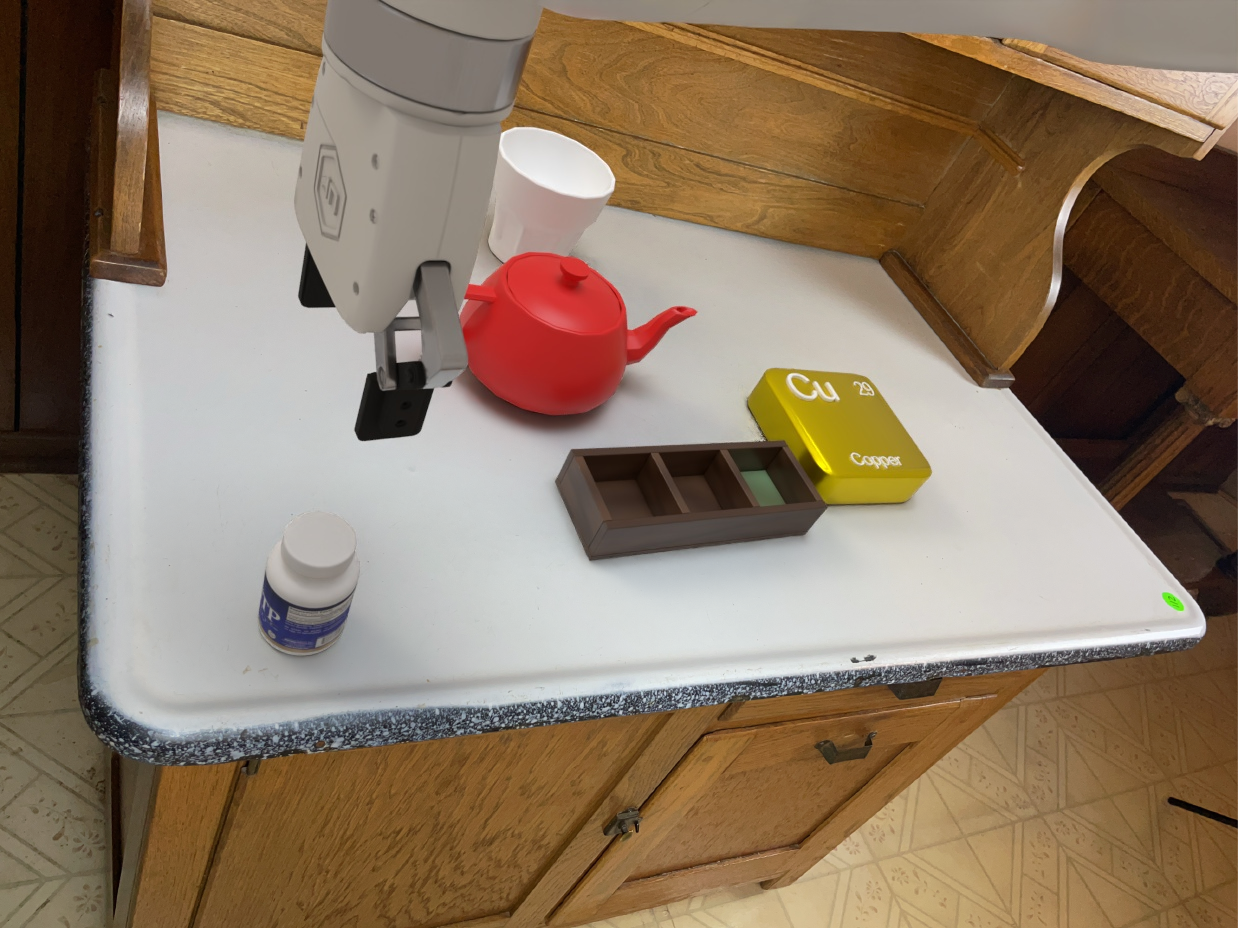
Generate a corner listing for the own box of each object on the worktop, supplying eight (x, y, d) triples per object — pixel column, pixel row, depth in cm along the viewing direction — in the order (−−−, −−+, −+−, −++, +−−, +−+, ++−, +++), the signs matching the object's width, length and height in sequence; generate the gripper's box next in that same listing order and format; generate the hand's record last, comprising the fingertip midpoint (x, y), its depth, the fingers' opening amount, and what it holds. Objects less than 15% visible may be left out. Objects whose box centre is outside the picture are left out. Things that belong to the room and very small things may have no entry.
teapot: (417, 424, 69) (452, 307, 61) (396, 302, 79) (424, 187, 71) (682, 442, 81) (741, 345, 73) (636, 333, 90) (684, 236, 82)
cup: (469, 205, 95) (496, 112, 87) (575, 235, 99) (609, 149, 92) (468, 270, 86) (498, 174, 79) (584, 300, 90) (622, 211, 83)
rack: (805, 534, 78) (828, 507, 76) (589, 560, 66) (607, 529, 64) (764, 467, 83) (784, 439, 80) (554, 481, 71) (570, 448, 68)
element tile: (802, 506, 81) (829, 473, 78) (739, 394, 89) (761, 360, 86) (915, 504, 88) (944, 473, 85) (847, 400, 97) (870, 369, 93)
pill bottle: (254, 588, 54) (267, 500, 48) (339, 583, 57) (362, 499, 51) (260, 662, 51) (274, 578, 45) (349, 654, 54) (375, 573, 48)
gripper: (268, -83, 35) (238, 259, 46) (412, 158, 26) (332, 505, 38) (440, -43, 39) (374, 261, 50) (610, 175, 31) (485, 482, 42)
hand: (356, 365), depth 44 cm, fingers open, 9 cm apart
